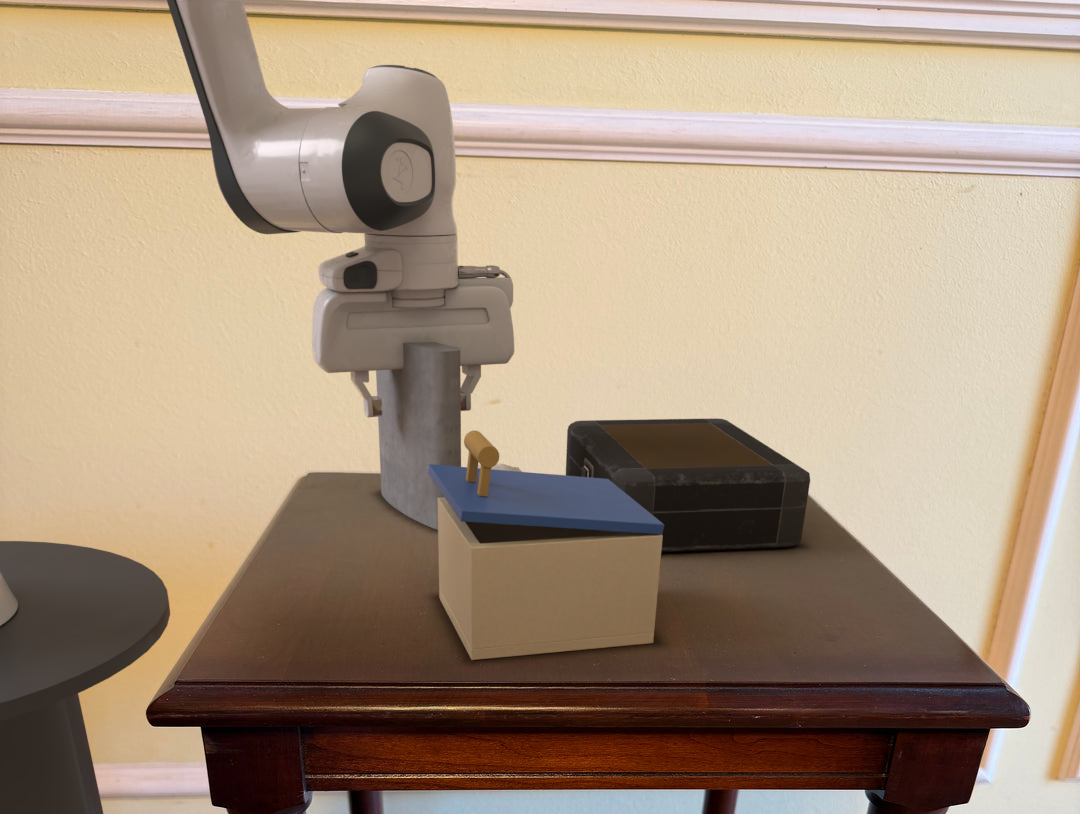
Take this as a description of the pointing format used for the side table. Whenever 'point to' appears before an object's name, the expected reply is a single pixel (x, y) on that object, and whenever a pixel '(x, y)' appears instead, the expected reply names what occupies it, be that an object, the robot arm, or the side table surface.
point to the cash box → (696, 480)
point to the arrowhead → (504, 467)
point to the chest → (545, 586)
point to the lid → (536, 496)
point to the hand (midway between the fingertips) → (418, 413)
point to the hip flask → (419, 427)
